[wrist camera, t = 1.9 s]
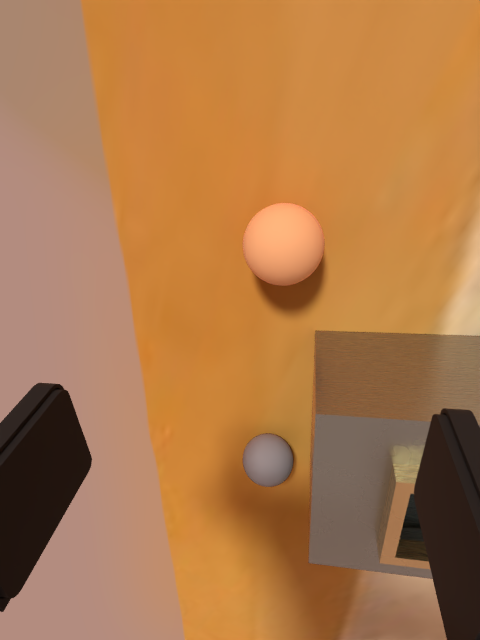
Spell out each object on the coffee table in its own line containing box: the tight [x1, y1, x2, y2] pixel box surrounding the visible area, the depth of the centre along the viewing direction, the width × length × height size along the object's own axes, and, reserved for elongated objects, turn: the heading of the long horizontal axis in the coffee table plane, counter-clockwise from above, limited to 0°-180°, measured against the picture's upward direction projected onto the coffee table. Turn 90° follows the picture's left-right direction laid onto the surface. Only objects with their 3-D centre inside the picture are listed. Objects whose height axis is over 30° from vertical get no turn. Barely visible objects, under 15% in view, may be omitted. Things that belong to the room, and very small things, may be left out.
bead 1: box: [243, 203, 324, 286], centre depth 22 cm, size 4×4×4 cm
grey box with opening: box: [309, 331, 480, 579], centre depth 26 cm, size 16×14×9 cm
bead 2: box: [243, 433, 293, 487], centre depth 32 cm, size 4×4×4 cm
